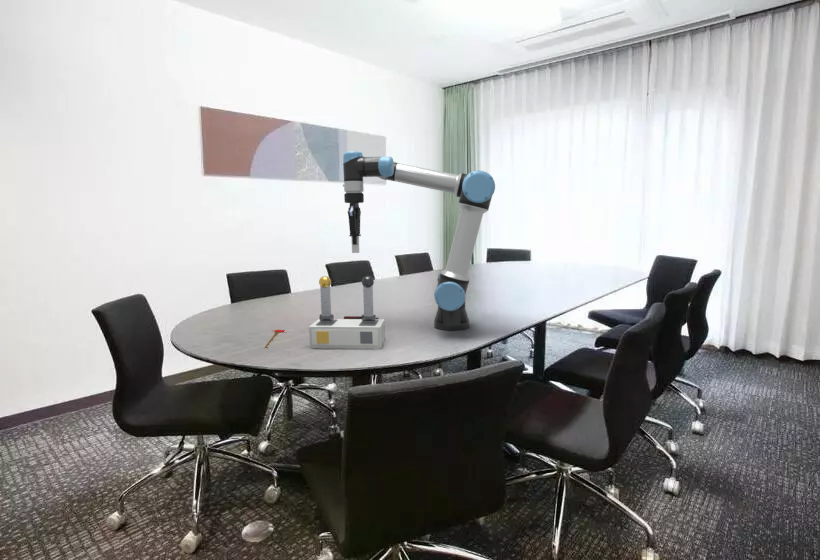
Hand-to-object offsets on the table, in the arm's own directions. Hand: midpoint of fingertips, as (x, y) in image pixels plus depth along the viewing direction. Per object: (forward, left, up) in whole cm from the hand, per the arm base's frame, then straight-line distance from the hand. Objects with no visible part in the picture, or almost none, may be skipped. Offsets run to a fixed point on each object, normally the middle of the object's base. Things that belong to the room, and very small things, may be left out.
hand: (355, 252), depth 177 cm
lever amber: (+9, +16, -24) cm, 30 cm away
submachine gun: (+7, -9, -34) cm, 36 cm away
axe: (+34, +10, -34) cm, 49 cm away
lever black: (-7, +16, -24) cm, 30 cm away
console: (+1, +16, -33) cm, 36 cm away
